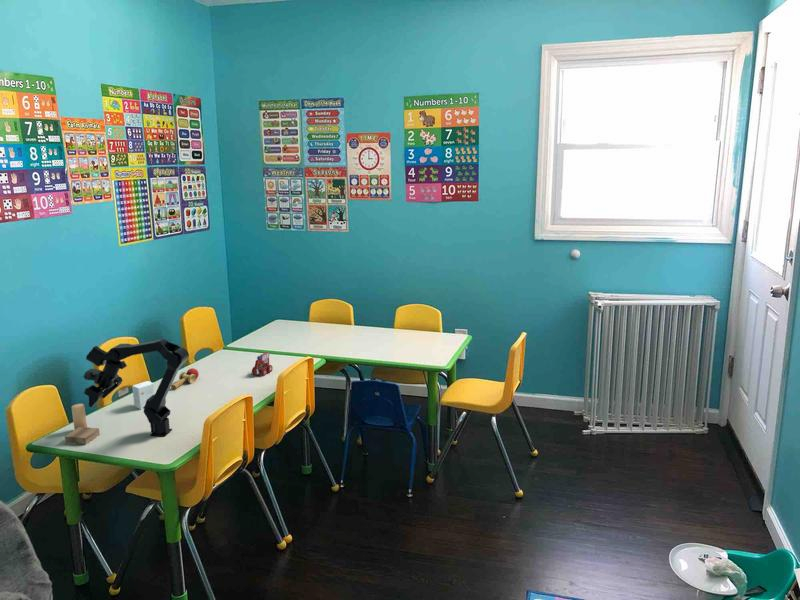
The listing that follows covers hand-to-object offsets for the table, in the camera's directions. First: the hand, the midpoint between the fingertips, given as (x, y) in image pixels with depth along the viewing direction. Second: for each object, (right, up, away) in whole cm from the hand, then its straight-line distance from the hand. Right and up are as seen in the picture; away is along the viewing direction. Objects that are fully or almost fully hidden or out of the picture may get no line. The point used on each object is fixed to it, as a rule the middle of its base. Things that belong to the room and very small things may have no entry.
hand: (96, 402), depth 264 cm
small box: (+9, -6, +28) cm, 30 cm away
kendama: (+18, 0, +55) cm, 58 cm away
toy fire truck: (+54, +4, +69) cm, 87 cm away
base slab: (-3, -14, -5) cm, 15 cm away
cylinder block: (-8, -12, +3) cm, 15 cm away
